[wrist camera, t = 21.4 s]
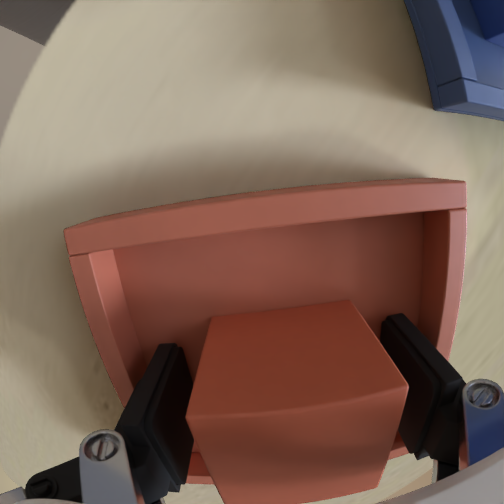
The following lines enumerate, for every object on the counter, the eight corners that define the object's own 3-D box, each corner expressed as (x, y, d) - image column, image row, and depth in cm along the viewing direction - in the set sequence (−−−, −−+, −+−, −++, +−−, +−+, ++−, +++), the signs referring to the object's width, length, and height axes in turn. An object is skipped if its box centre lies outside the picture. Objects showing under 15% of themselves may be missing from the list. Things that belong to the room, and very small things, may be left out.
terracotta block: (210, 315, 9) (183, 417, 5) (350, 298, 9) (410, 385, 5) (232, 413, 10) (226, 509, 6) (346, 398, 10) (378, 488, 6)
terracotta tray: (94, 218, 9) (61, 229, 7) (432, 177, 9) (467, 181, 7) (174, 452, 12) (167, 482, 10) (404, 423, 12) (418, 450, 10)
